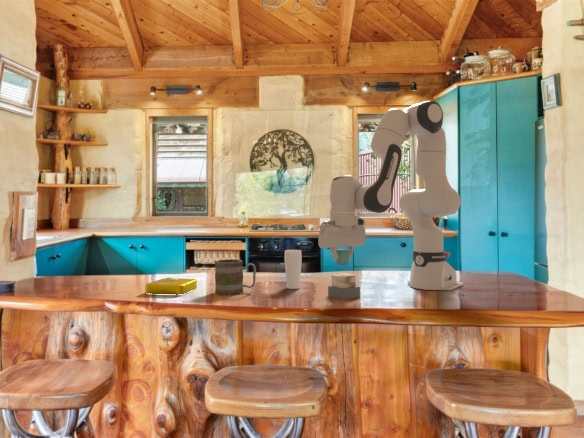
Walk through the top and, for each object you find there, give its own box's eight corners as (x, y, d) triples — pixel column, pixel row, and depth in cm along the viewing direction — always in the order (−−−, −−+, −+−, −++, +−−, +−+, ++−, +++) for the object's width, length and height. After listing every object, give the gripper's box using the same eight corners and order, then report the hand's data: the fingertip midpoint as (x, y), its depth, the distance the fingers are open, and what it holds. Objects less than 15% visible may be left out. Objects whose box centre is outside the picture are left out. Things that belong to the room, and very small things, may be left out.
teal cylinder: (342, 262, 149) (342, 249, 149) (352, 264, 145) (352, 250, 145) (332, 263, 146) (332, 249, 146) (342, 265, 142) (342, 251, 142)
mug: (211, 295, 149) (211, 263, 148) (217, 289, 159) (217, 259, 159) (254, 295, 148) (254, 262, 148) (258, 289, 159) (257, 259, 159)
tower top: (344, 283, 150) (344, 273, 150) (355, 286, 145) (355, 275, 145) (331, 285, 146) (331, 274, 146) (343, 288, 141) (343, 276, 141)
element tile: (143, 296, 151) (143, 283, 151) (164, 288, 166) (164, 276, 165) (180, 297, 148) (180, 284, 148) (198, 289, 162) (198, 277, 162)
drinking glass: (304, 289, 159) (303, 251, 159) (287, 290, 157) (287, 251, 157) (298, 286, 165) (298, 249, 165) (282, 287, 163) (282, 250, 163)
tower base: (344, 294, 151) (344, 283, 151) (360, 297, 144) (360, 286, 144) (328, 297, 146) (328, 286, 146) (343, 301, 140) (343, 289, 140)
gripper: (326, 221, 136) (326, 262, 137) (368, 220, 149) (368, 258, 149) (314, 221, 141) (314, 260, 142) (356, 220, 154) (355, 256, 154)
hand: (342, 259), depth 145 cm, fingers closed on teal cylinder, 5 cm apart
